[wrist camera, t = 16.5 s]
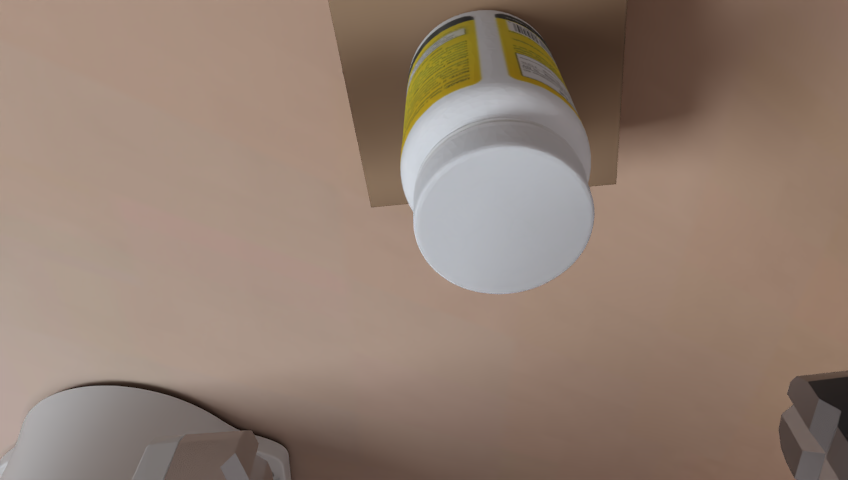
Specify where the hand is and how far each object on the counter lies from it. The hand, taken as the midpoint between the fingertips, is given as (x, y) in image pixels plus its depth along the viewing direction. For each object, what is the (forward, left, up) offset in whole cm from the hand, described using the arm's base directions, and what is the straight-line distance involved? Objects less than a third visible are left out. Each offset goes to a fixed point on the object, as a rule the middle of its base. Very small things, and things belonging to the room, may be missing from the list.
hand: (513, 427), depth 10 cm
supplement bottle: (0, 0, -14) cm, 14 cm away
